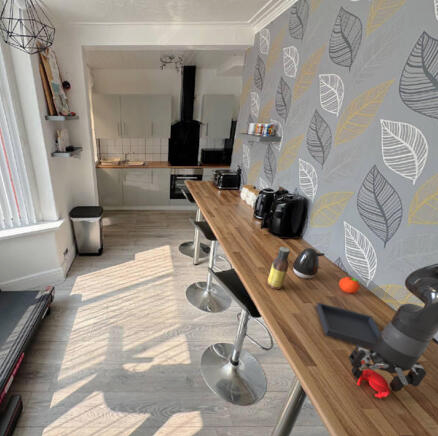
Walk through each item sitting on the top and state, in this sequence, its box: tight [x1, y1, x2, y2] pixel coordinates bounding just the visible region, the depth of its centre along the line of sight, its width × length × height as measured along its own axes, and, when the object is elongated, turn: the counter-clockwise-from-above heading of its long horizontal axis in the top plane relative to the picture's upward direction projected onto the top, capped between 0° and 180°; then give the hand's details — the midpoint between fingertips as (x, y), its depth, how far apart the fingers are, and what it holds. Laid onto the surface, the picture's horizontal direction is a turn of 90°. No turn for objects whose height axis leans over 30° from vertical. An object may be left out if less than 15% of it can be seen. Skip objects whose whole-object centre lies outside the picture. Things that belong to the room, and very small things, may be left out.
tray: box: [315, 302, 382, 350], centre depth 87 cm, size 18×15×3 cm
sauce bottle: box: [266, 246, 291, 290], centre depth 104 cm, size 7×6×20 cm
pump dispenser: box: [292, 247, 326, 280], centre depth 113 cm, size 10×10×15 cm
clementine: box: [338, 276, 362, 294], centre depth 105 cm, size 8×7×7 cm
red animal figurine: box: [357, 369, 391, 399], centre depth 67 cm, size 8×6×6 cm
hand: (373, 382), depth 66 cm, fingers open, 8 cm apart
